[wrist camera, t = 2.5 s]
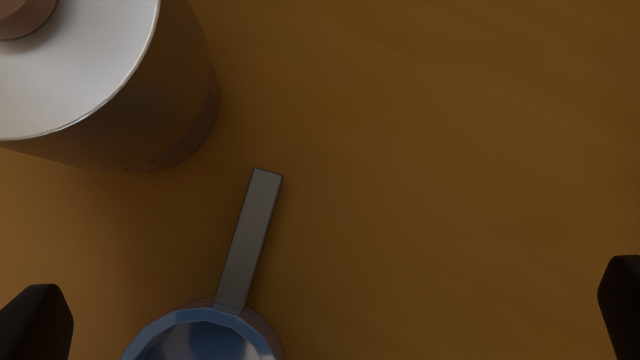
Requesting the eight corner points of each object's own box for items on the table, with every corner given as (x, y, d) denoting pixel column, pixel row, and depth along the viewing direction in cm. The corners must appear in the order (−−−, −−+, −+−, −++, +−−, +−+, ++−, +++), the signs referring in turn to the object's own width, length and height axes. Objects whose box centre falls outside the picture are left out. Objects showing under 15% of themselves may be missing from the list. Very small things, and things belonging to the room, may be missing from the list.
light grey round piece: (174, 195, 19) (88, 175, 11) (-25, 137, 19) (-242, 78, 11) (235, 2, 19) (191, -137, 12) (42, -54, 19) (-122, -228, 12)
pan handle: (244, 309, 22) (242, 312, 21) (215, 301, 22) (212, 303, 21) (284, 177, 23) (283, 175, 22) (255, 168, 23) (253, 166, 22)
